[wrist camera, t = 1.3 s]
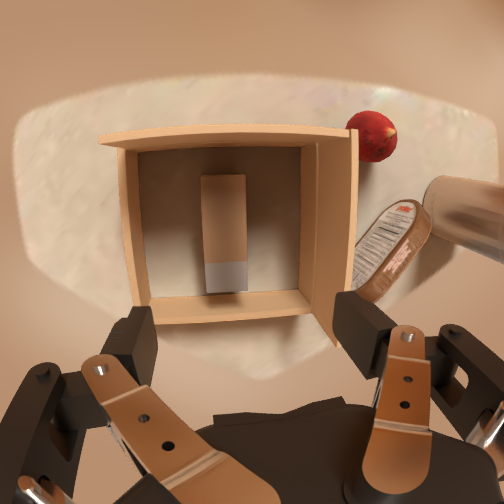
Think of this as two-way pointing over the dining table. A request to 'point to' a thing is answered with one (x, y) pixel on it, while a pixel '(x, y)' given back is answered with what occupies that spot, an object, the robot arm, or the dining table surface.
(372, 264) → the tin
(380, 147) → the onion
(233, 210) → the box
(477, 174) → the dining table surface
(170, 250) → the dining table surface
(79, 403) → the robot arm
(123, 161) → the carton
